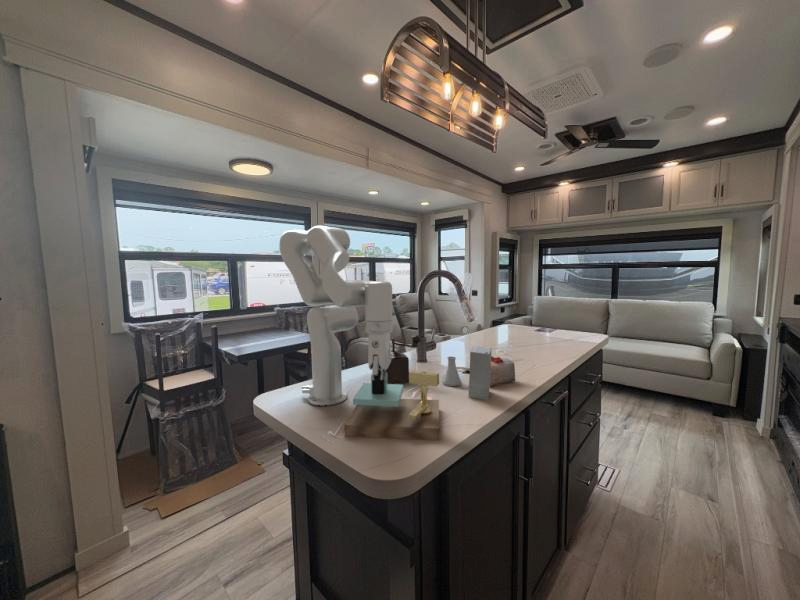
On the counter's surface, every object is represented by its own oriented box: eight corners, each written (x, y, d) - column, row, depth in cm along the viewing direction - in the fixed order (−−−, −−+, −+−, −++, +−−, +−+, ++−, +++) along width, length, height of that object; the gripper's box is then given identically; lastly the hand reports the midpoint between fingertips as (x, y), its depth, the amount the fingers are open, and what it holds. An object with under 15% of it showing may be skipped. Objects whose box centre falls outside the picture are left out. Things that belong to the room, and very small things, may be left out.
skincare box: (471, 389, 111) (471, 345, 110) (492, 391, 108) (492, 346, 107) (467, 398, 103) (467, 350, 102) (490, 400, 100) (490, 352, 99)
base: (344, 436, 79) (344, 424, 79) (361, 407, 97) (361, 397, 97) (439, 440, 76) (439, 428, 76) (438, 409, 94) (438, 399, 94)
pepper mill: (383, 385, 117) (382, 338, 116) (379, 376, 128) (378, 333, 126) (423, 381, 120) (422, 335, 119) (415, 373, 131) (415, 331, 130)
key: (427, 428, 76) (426, 385, 75) (397, 422, 79) (396, 381, 78) (440, 410, 86) (440, 372, 85) (413, 406, 89) (412, 369, 88)
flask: (461, 387, 113) (461, 360, 113) (441, 386, 115) (441, 359, 114) (461, 380, 120) (461, 355, 120) (442, 380, 122) (442, 354, 121)
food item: (489, 389, 111) (489, 361, 110) (474, 382, 118) (474, 357, 117) (517, 382, 117) (517, 357, 116) (501, 377, 124) (501, 352, 123)
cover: (353, 404, 82) (352, 380, 81) (363, 387, 94) (363, 366, 93) (398, 406, 81) (398, 382, 80) (403, 389, 92) (403, 368, 92)
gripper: (387, 332, 77) (388, 404, 79) (396, 321, 93) (396, 381, 95) (358, 331, 78) (359, 402, 79) (371, 321, 94) (372, 380, 96)
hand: (379, 390), depth 87 cm, fingers closed on cover, 3 cm apart
